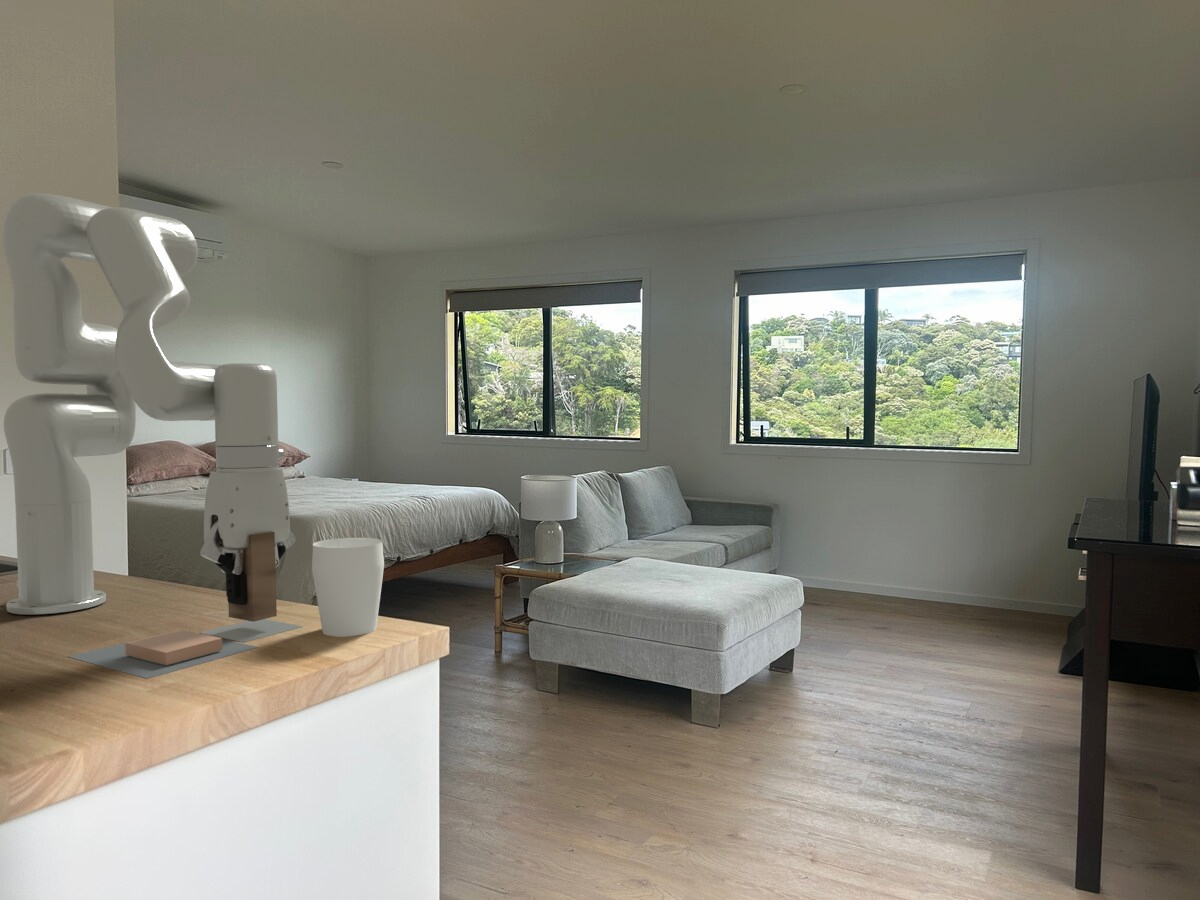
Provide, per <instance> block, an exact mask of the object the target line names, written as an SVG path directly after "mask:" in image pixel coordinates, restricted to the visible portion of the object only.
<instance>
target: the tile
mask: <svg viewBox="0 0 1200 900" xmlns="http://www.w3.org/2000/svg"><path fill="white" fill-rule="evenodd" d="M222 639H223V638H220V637H215V636H211V635H206V634H201V633H200V632H194V631H191V630H186V629H176V630H172V631H169V632H165V633H160V634H158V635H153V636H147V637H145V638H140V639H136V640H132V641H127V642H124V643H125V651H126V655H129V656H131V657H135V658H139V659H142V660H146V661H150V662H154V663H158V664H162V665H166V666H168V665H171V664H175V663H179V662H183V661H186V660H190V659H194V658H197V657H201V656H205V655H208V654H212V653H216V652H218V651H220V650H222Z"/></svg>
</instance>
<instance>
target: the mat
mask: <svg viewBox="0 0 1200 900" xmlns="http://www.w3.org/2000/svg"><path fill="white" fill-rule="evenodd" d="M125 643H126V642H123V643H119V644H115V645H110V646H107V647H105V646H104V647H103V648H102V647H101V648H97V649H93V650H89V651H85V652H82V653H81V652H80V653H76V654H73V655H68V656H67V658H70V659H73V660H78V661H81V662H84V663H89V664H91V665H96V666H97V667H98V666H99V667H103V668H106V669H110V670H113V671H118V672H122V673H124V674H128V675H132V676H135V677H138V678H142V679H146V680H148V679H151V678H155V677H158V676H159V677H160V676H162V675H167V674H170V673H174V672H176V671H180V670H185V669H187V668H191V667H194V666H198V665H201V664H205V663H209V662H213V661H216V660H217V661H218V660H221V659H223V658H227V657H230V656H234V655H238V654H241V653H245V652H247V651H252V650H255V649H258V648H259V649H260V647H259V646H255V645H251V644H246V643H243V642H238V641H234V640H229V639H224V638H222V650H220V651H218V652H216V653H212V654H208V655H205V656H201V657H197V658H194V659H190V660H186V661H183V662H179V663H175V664H171V665H168V666H166V665H162V664H158V663H154V662H150V661H146V660H142V659H139V658H135V657H131V656H129V655H126V651H125Z"/></svg>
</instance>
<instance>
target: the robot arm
mask: <svg viewBox="0 0 1200 900" xmlns="http://www.w3.org/2000/svg"><path fill="white" fill-rule="evenodd" d="M1 235H2V236H1V237H2V241H1V242H2V249H3V254H4V257H5V260H6V261H5V262H6V265H7V268H8V272H9V275H10V280H11V284H12V294H13V300H12V305H13V338H14V339H13V340H14V359H15V364H16V368H17V370H18V373H19V375H21V376H22V377H23V378H24V379H26V380H27V381H29V382H32V383H33V382H34V383H37V384H45V385H47V384H48V385H63V386H64V385H65V386H66V385H71V386H74V385H75V386H85V387H86V394H85V393H82V394H81V393H58V392H57V393H52V392H51V393H47V392H46V393H45V392H44V393H34V394H29V395H28V394H27V395H25V396H23V397H19V398H17V399H16V400H14V401H13V402H12V403H11V404H10V405H9V406H8V408H7V409H6V411H5V413H4V417H3V431H4V435H5V440H6V444H7V448H8V451H9V455H10V459H11V460H10V461H11V466H12V473H13V482H14V483H13V484H14V501H15V502H14V503H15V505H14V506H15V526H16V528H15V531H16V552H17V553H16V556H17V558H16V559H17V576H18V577H17V580H16V581H15V586H16V587H18V597H15V598H13V599H10V600H9V601H7V602H6V606H5V607H6V612H8V613H10V614H15V615H24V616H25V615H29V616H31V615H32V616H33V615H36V616H37V615H38V616H39V615H49V614H50V615H51V614H61V613H69V612H74V611H81V610H86V609H89V608H94V607H96V606H99V605H101V604H104V603H105V602H106V600H107V594H106V592H105V591H103V590H96V589H95V585H94V583H95V582H94V581H95V580H94V550H93V549H94V548H93V524H92V523H93V522H92V521H93V520H92V515H93V514H92V500H91V499H92V497H91V496H92V494H91V487H90V486H91V485H90V483H89V480H88V478H87V475H86V474H85V473H84V471H83V469H82V468H81V467H80V466H79V464H78V463H77V461H76V460H75V458H78V457H95V456H97V457H98V456H109V455H114V454H119V453H122V452H123V451H125V450H126V449H127V448H129V446H130V445H131V443H132V441H133V439H134V436H135V431H136V421H137V420H136V417H137V415H136V409H137V408H136V405H137V407H138V408H139V409H140V411H142V412H143V413H144V414H146V415H147V416H148V417H150V418H152V419H154V420H157V421H163V422H166V421H167V422H177V421H178V422H181V421H184V422H185V421H201V422H202V421H203V422H205V421H214V426H215V428H214V432H215V433H214V434H215V468H216V471H210V474H209V477H208V480H207V485H206V492H205V499H204V501H205V502H204V513H203V541H204V543H203V546H202V547H201V549H200V551H199V555H200V556H201V557H202V558H204V559H207V560H209V561H211V562H213V563H214V564H215V565H216V566H217V567H219V568H220V571H221V572H222V573H223V574H225V583H226V584H225V589H226V591H225V592H226V593H225V594H226V597H227V599H226V600H227V603H228V602H229V603H232V604H238V605H245V604H246V603H247V577H246V574H245V573H242V570H243V561H244V550H245V549H246V548H247V547H248V544H249V535H255V534H262V533H268V532H275V568H277V567H279V565H280V560H281V559H282V557H283V556H284V554H285V552H286V551H287V550H288V549H289V548H290V547H291V546H292V545H294V544H295V543H296V540H297V538H296V536H295V535H294V533H293V531H292V529H291V526H290V525H291V524H290V523H291V519H290V518H291V517H290V516H291V515H290V505H289V496H288V495H289V494H288V488H287V484H286V483H287V482H286V477H285V475H284V472H283V469H282V468H280V466H279V465H280V462H279V461H280V460H282V459H284V457H285V451H284V450H283V449H282V448H279V421H278V420H279V418H278V379H277V373H276V371H275V370H274V368H273V367H272V366H270V365H268V364H265V363H264V364H263V363H247V362H246V363H244V362H243V363H241V362H240V363H239V362H238V363H235V362H234V363H224V364H216V363H215V364H214V363H197V362H184V361H183V362H182V361H181V362H180V361H169V360H168V359H167V358H166V356H165V355H164V353H163V351H162V349H161V347H160V345H159V343H158V342H157V339H156V336H155V332H154V331H155V330H157V329H160V328H163V327H166V326H168V325H169V324H172V323H173V322H175V321H176V320H178V319H179V318H180V317H181V316H183V315H184V314H185V312H186V311H187V310H188V308H189V306H190V303H191V297H190V296H191V295H190V293H189V290H188V289H187V287H186V285H185V284H184V282H183V279H182V277H183V276H186V275H187V274H189V273H190V272H192V270H194V268H195V266H196V264H197V261H198V256H199V255H198V254H199V248H198V243H197V240H196V237H195V236H194V234H193V232H192V231H191V229H190V228H189V226H188V225H186V224H185V223H183V222H182V221H180V220H178V219H176V218H173V217H169V216H165V215H160V214H158V213H152V212H148V211H143V210H139V209H133V208H128V207H123V206H122V207H121V206H120V207H119V206H118V207H117V206H116V207H115V206H114V207H113V206H109V205H104V204H100V203H95V202H91V201H86V200H83V199H79V198H75V197H69V196H64V195H60V194H59V195H58V194H53V193H38V192H37V193H29V194H25V195H22V196H20V197H19V198H17V199H16V200H14V201H12V203H11V204H10V205H9V208H8V210H7V211H6V213H5V216H4V219H3V224H2V234H1ZM63 258H66V259H68V258H69V259H75V260H80V261H86V262H92V263H98V265H99V267H100V269H101V271H102V272H103V276H104V277H105V279H106V280H107V282H108V284H109V286H110V288H111V290H112V293H113V294H114V296H115V298H116V300H117V302H118V303H119V306H120V308H121V310H122V311H123V313H124V316H123V317H122V319H121V322H120V323H119V326H118V328H116V327H114V326H111V325H108V324H102V323H94V322H85V321H84V318H83V310H82V309H83V308H82V298H83V297H82V292H81V288H80V286H79V284H78V282H77V280H76V278H75V276H74V275H73V273H72V272H71V270H70V268H69V267H68V266H67V265H66V264H65V263H64V262H63V261H62V259H63ZM219 548H220V549H221V548H222V552H220V551H219ZM232 559H233V560H232Z"/></svg>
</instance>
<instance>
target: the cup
mask: <svg viewBox="0 0 1200 900" xmlns="http://www.w3.org/2000/svg"><path fill="white" fill-rule="evenodd" d="M383 545H384V544H383V540H382V539H380V538H373V537H339V538H338V537H337V538H330V539H324V540H319V541H316V542H313V543H312V554H311V555H312V557H311V571H312V578H313V584H314V590H315V596H316V602H317V607H318V615H319V619H320V625H321V631H322V633H323V635H325V636H330V637H338V638H339V637H340V638H343V637H345V638H346V637H357V636H361V635H363V636H364V635H367V634H370V633H372V632H374V631H377V625H378V617H379V609H380V602H381V594H382V593H381V592H382V588H383V587H382V586H383V585H382V584H383V578H384V577H383V576H384V569H385V558H384V547H383Z"/></svg>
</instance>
